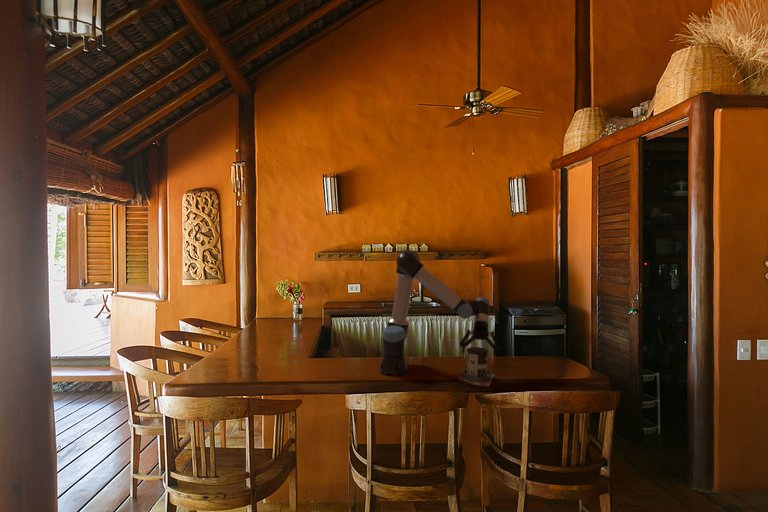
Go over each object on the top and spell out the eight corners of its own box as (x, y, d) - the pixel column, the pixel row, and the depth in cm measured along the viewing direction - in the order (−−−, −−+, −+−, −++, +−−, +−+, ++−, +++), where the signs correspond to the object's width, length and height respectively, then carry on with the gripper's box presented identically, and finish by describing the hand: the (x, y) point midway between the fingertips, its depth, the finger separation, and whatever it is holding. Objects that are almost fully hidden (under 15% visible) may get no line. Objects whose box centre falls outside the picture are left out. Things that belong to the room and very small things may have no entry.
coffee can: (487, 374, 245) (487, 347, 244) (487, 381, 235) (487, 353, 234) (466, 373, 247) (467, 346, 246) (466, 379, 237) (466, 351, 236)
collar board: (458, 382, 238) (458, 374, 237) (466, 373, 251) (466, 366, 251) (488, 386, 231) (488, 378, 231) (495, 377, 245) (495, 370, 245)
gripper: (505, 329, 253) (503, 365, 240) (458, 326, 260) (454, 361, 247) (505, 321, 248) (503, 357, 235) (457, 318, 255) (453, 353, 241)
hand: (478, 359), depth 241 cm, fingers open, 13 cm apart
